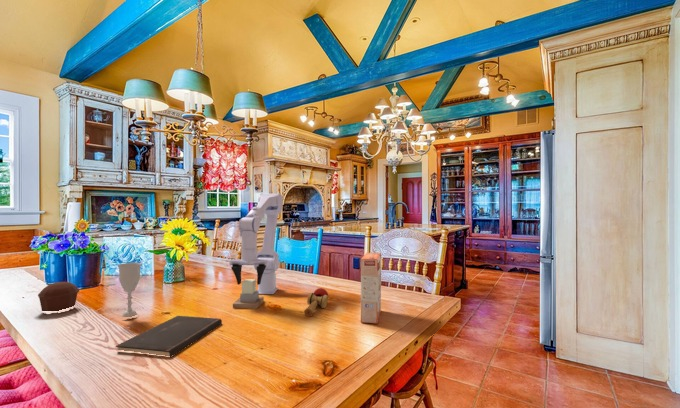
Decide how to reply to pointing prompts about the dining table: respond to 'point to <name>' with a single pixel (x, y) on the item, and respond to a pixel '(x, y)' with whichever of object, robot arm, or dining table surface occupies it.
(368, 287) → the cracker box
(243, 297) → the slate cube
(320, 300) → the kendama
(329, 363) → the dining table surface
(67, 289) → the muffin
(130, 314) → the chalice
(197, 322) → the hardcover book
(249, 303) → the walnut slab
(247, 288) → the sage block
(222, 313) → the dining table surface
